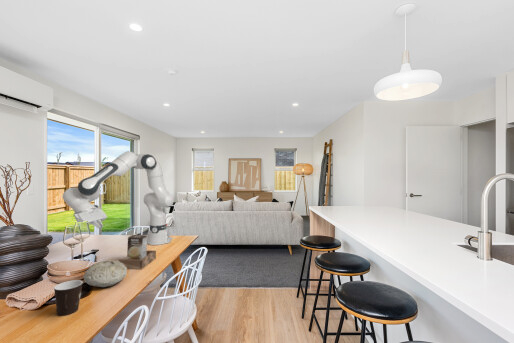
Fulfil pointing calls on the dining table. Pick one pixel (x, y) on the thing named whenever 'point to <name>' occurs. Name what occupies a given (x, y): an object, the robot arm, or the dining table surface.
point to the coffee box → (137, 247)
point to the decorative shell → (105, 273)
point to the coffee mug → (67, 297)
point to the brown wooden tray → (139, 261)
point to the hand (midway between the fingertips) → (101, 227)
